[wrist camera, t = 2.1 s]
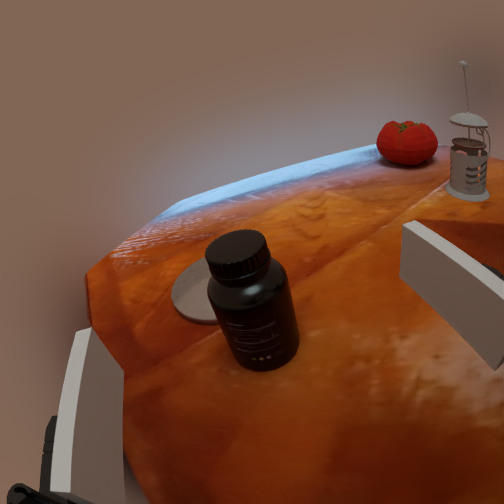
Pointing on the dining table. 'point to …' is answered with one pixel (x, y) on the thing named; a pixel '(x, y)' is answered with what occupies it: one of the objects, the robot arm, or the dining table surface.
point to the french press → (468, 158)
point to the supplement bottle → (251, 300)
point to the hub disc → (194, 294)
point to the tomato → (407, 142)
